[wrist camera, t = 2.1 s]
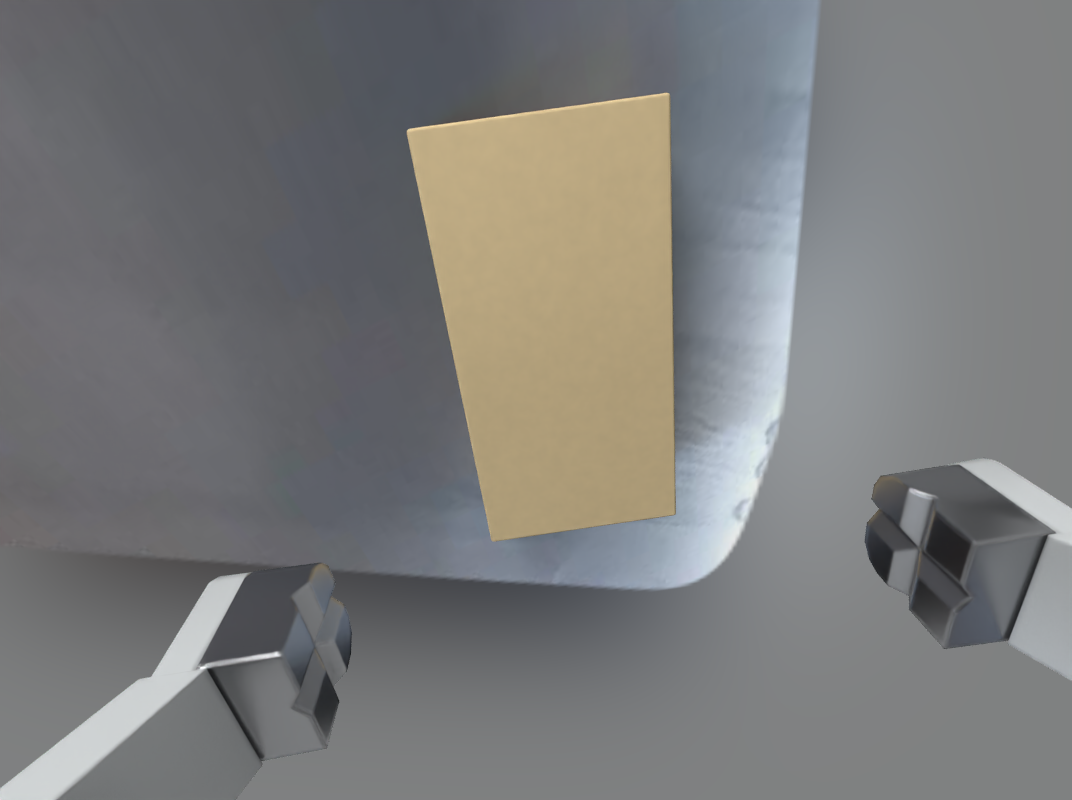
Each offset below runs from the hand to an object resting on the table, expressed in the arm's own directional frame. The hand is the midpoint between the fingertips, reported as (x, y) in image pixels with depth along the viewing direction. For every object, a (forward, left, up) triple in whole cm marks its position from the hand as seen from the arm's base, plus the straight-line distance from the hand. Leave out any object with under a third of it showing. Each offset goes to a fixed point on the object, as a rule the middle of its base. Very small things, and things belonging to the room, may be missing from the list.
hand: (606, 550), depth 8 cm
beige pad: (0, 0, -11) cm, 11 cm away
